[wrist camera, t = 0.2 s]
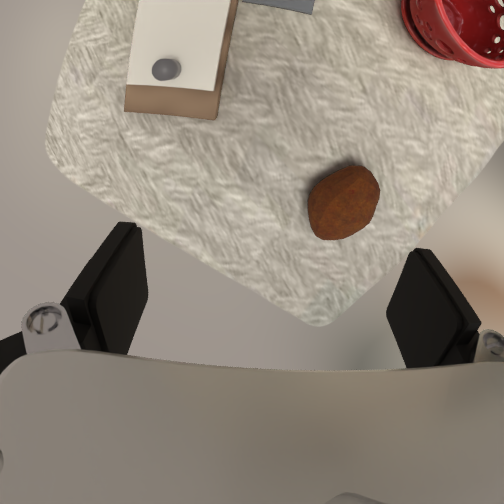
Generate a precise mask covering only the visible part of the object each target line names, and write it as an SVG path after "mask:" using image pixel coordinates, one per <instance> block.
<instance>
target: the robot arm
mask: <svg viewBox="0 0 504 504" xmlns="http://www.w3.org/2000/svg"><path fill="white" fill-rule="evenodd" d="M147 300H148V286H147V278H146V268H145V260H144V250H143V239H142V230H141V228H140V227H137V225H136V223H131V222H118V223H117V225H116V226H115V227H114V229H113V230H112V231H111V232H110V234H109V235H108V236H107V238H106V239H105V240H104V242H103V243H102V245H101V246H100V247H99V249H98V250H97V252H96V253H95V254H94V256H93V257H92V258H91V259H90V260H89V262H88V263H87V264H86V266H85V267H84V269H83V270H82V271H81V273H80V274H79V276H78V277H77V279H76V280H75V282H74V283H73V285H72V286H71V288H70V289H69V291H68V292H67V294H66V295H65V297H64V298H63V300H62V301H61V303H60V304H57V303H54V302H46V303H42V304H39V305H36V306H34V307H33V308H31V309H30V310H29V311H28V312H27V313H26V314H25V316H24V317H23V320H22V331H21V332H19V333H17V334H14V335H12V336H10V337H7V338H5V339H3V340H0V504H504V337H503V336H502V335H501V334H500V333H498V332H496V331H494V330H490V329H486V330H483V331H482V332H481V333H480V334H479V333H478V331H477V330H478V328H479V326H480V325H481V321H480V319H479V318H478V316H477V315H476V313H475V312H474V310H473V309H472V307H471V306H470V304H469V303H468V302H467V300H466V298H465V297H464V295H463V294H462V292H461V291H460V289H459V288H458V286H457V285H456V284H455V282H454V281H453V279H452V278H451V277H450V275H449V274H448V273H447V271H446V270H445V268H444V267H443V266H442V264H441V263H440V262H439V260H438V259H437V258H436V256H435V255H434V254H433V252H432V251H431V250H430V249H421V248H415V249H414V250H413V251H411V252H410V253H409V255H408V257H407V260H406V263H405V265H404V268H403V271H402V273H401V276H400V278H399V281H398V283H397V286H396V288H395V291H394V293H393V295H392V298H391V300H390V302H389V305H388V307H387V311H386V316H387V319H388V322H389V324H390V327H391V329H392V332H393V334H394V336H395V339H396V341H397V344H398V347H399V349H400V351H401V354H402V357H403V360H404V362H405V365H406V368H405V369H387V370H349V371H348V370H347V371H315V370H314V371H312V370H310V371H309V370H277V369H258V368H241V367H228V366H216V365H205V364H195V363H186V362H177V361H169V360H160V359H152V358H145V357H138V356H131V355H127V353H128V350H129V348H130V345H131V342H132V340H133V337H134V334H135V331H136V329H137V326H138V324H139V320H140V318H141V316H142V313H143V310H144V308H145V305H146V303H147Z"/></svg>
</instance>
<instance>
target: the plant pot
mask: <svg viewBox="0 0 504 504" xmlns="http://www.w3.org/2000/svg"><path fill="white" fill-rule="evenodd" d="M502 1H503V3H504V0H502ZM490 6H493V7H494V9H495V13H493V12H492V11H491V9H490ZM401 12H402V17H403V20H404V23H405V26H406V28H407V30H408V32H409V33H410V35H411V36H412V38H413V39H414V40H415V41H416V42H417V43H418V45H419V46H421V47H422V48H423V49H424V50H425V51H427V52H428V53H430V54H432V55H433V56H435V57H438V58H441V59H444V60H455V61H457V62H460V63H463V64H467V65H470V66H477V67H483V68H504V30H502V29H501V27H500V18H501V16H502V15H504V7H502V6H501V5H500V4H499V2H498V0H402V1H401ZM496 37H500V41H499V43H494V40H495V38H496ZM501 50H503V52H501V53H499V52H500V51H501ZM489 51H491V52H490V53H487V52H489Z"/></svg>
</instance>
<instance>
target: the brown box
mask: <svg viewBox="0 0 504 504" xmlns="http://www.w3.org/2000/svg"><path fill="white" fill-rule="evenodd" d="M237 5H238V0H231V4H230V9H229V14H228V18H227V23H226V29H225V34H224V39H223V44H222V50H221V55H220V61H219V66H218V72H217V78H216V84H215V90H214V91H207V90H199V89H189V88H179V87H166V86H151V85H130V84H126V94H125V105H124V112H137V113H150V114H162V115H173V116H182V117H191V118H199V119H207V120H215V119H216V118H217V114H218V108H219V102H220V96H221V90H222V84H223V78H224V72H225V67H226V61H227V56H228V50H229V45H230V40H231V35H232V29H233V24H234V20H235V15H236V10H237Z"/></svg>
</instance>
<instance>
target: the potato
mask: <svg viewBox="0 0 504 504" xmlns="http://www.w3.org/2000/svg"><path fill="white" fill-rule="evenodd" d="M379 196H380V188H379V185H378V182H377V181H376V179H375V177H374V176H373V174H372V173H371V172H370V171H369V170H368V169H366V168H365V167H363V166H348V167H346V168H343V169H341V170H338V171H337V172H335V173H333V174H331V175H329V176H328V177H326V178H325V179H323V180H322V181H320V182H319V183H318V184H317V185H316V186H315V187H314V188H313V189H312V191H311V193H310V195H309V198H308V215H309V221H310V225H311V228H312V230H313V232H314V234H315V235H316V236H317V237H319V238H320V239H322V240H338V239H344V238H346V237H349V236H351V235H353V234H354V233H356V232H358V231H359V230H361V229H363V228H364V227H365V226H366V225H368V224H369V223H370V221H371V219H372V217H373V215H374V212H375V209H376V206H377V203H378V200H379Z"/></svg>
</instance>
